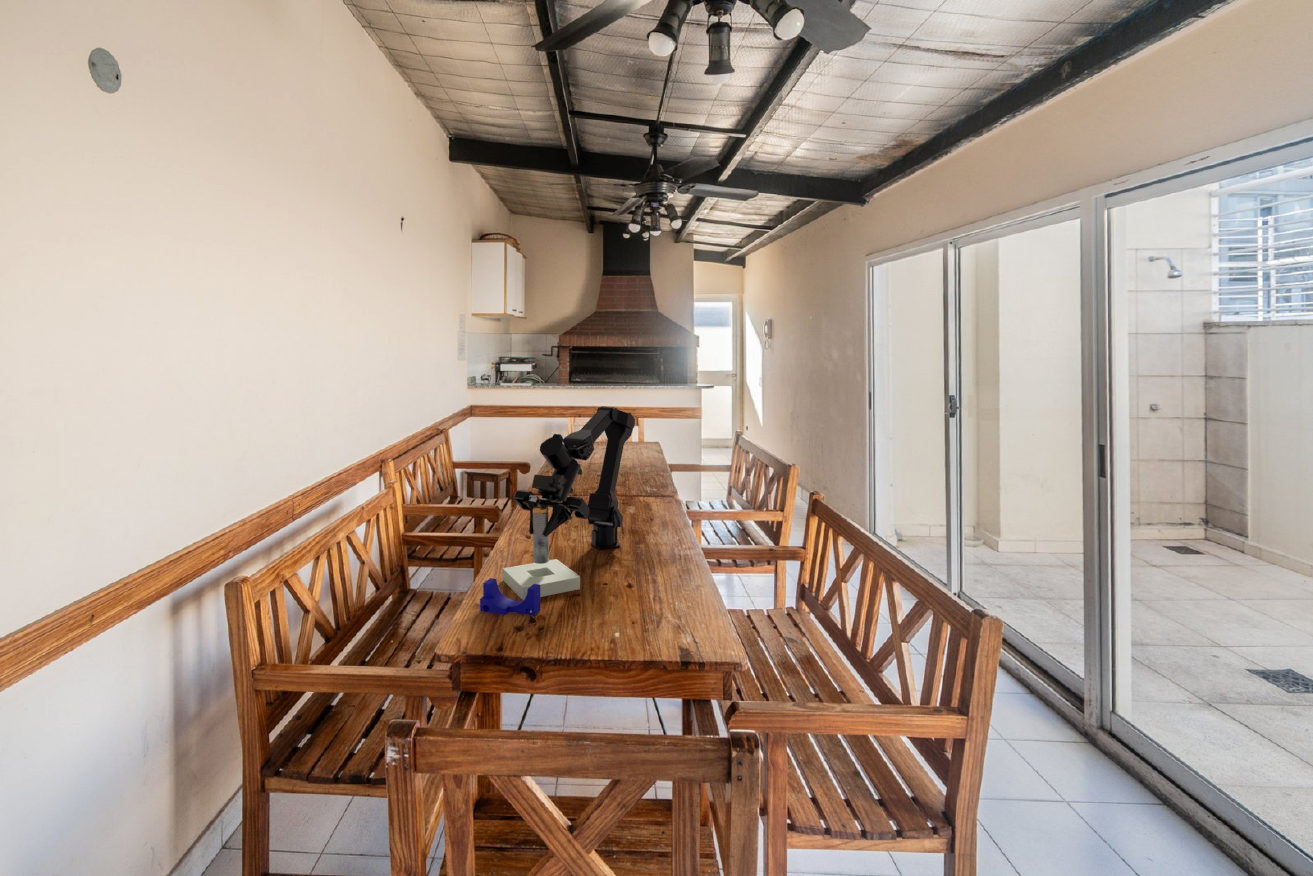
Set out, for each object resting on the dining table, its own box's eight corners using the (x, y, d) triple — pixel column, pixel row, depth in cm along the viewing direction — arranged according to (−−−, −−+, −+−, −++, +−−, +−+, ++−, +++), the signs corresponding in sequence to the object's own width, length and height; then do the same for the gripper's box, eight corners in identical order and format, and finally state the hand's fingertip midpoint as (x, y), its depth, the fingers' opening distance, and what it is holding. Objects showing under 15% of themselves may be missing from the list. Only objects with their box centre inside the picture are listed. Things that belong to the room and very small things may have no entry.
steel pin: (548, 558, 154) (548, 505, 151) (548, 563, 150) (548, 510, 148) (533, 558, 153) (532, 506, 151) (533, 564, 149) (532, 510, 147)
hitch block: (556, 570, 162) (556, 559, 161) (580, 589, 150) (580, 576, 150) (503, 580, 154) (502, 568, 154) (523, 600, 143) (522, 587, 142)
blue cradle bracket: (480, 612, 137) (479, 585, 136) (490, 604, 141) (490, 578, 140) (531, 619, 134) (530, 592, 133) (540, 610, 138) (540, 584, 137)
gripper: (516, 457, 155) (489, 512, 147) (583, 464, 148) (558, 522, 139) (535, 482, 163) (510, 535, 155) (599, 490, 156) (576, 546, 148)
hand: (537, 534), depth 149 cm, fingers closed on steel pin, 4 cm apart
